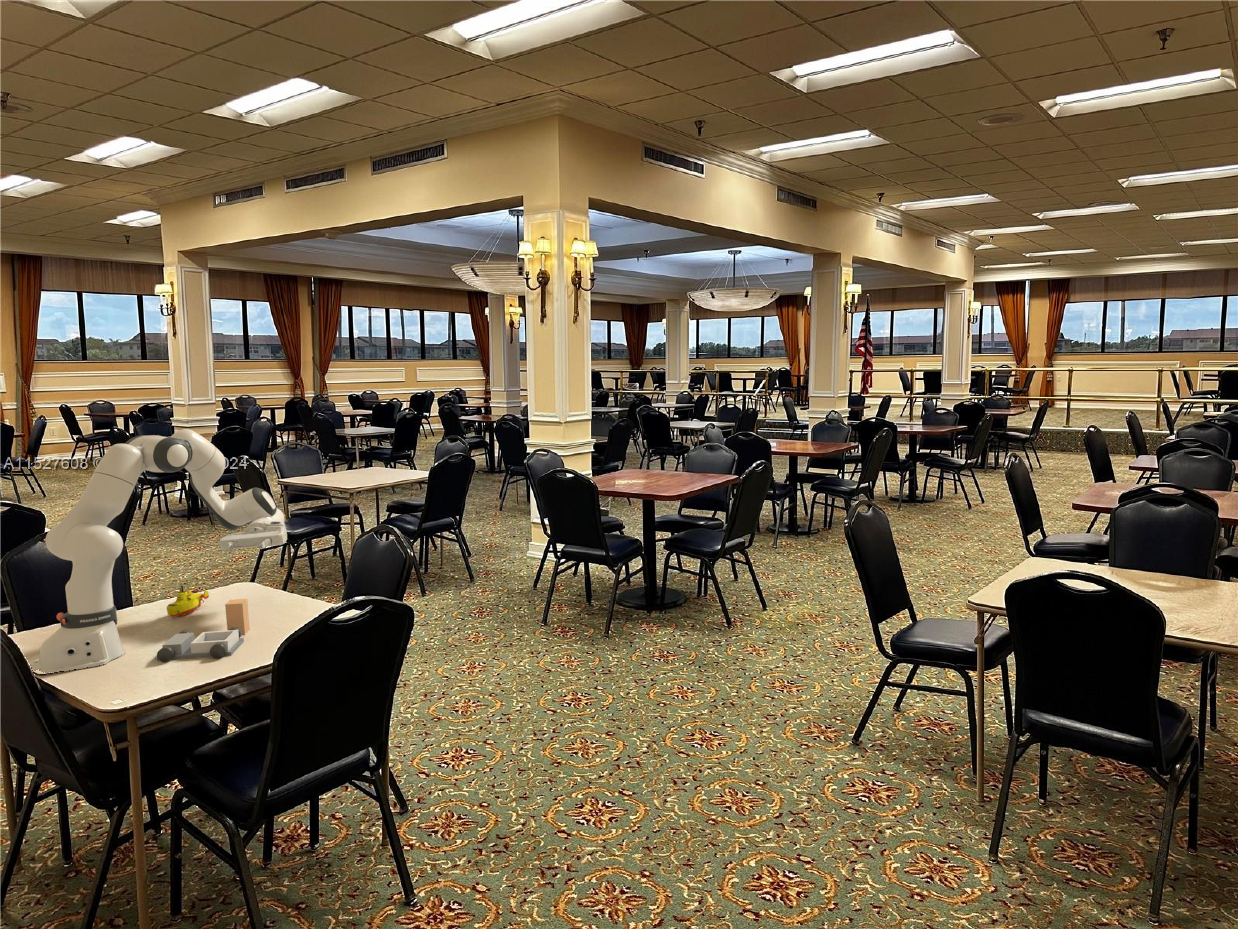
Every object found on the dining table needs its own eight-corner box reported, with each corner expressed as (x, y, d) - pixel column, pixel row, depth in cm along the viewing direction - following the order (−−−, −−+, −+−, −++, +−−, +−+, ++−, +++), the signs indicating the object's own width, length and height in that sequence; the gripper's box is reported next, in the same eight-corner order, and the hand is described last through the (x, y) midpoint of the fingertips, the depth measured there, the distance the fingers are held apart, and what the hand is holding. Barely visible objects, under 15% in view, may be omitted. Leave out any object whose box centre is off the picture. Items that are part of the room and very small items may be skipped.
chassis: (153, 663, 231) (152, 649, 231) (175, 644, 247) (174, 631, 246) (228, 657, 234) (227, 644, 234) (245, 639, 250) (244, 626, 249)
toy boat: (211, 605, 286) (208, 577, 285) (178, 622, 269) (176, 592, 267) (193, 605, 287) (191, 577, 286) (160, 622, 269) (157, 592, 268)
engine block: (227, 636, 253) (225, 604, 252) (233, 630, 258) (230, 599, 257) (245, 634, 254) (242, 603, 253) (249, 629, 259) (247, 598, 258)
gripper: (226, 527, 276) (210, 542, 263) (288, 521, 277) (275, 535, 264) (230, 545, 278) (214, 560, 264) (292, 539, 279) (279, 554, 266)
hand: (245, 548), depth 264 cm, fingers open, 8 cm apart
